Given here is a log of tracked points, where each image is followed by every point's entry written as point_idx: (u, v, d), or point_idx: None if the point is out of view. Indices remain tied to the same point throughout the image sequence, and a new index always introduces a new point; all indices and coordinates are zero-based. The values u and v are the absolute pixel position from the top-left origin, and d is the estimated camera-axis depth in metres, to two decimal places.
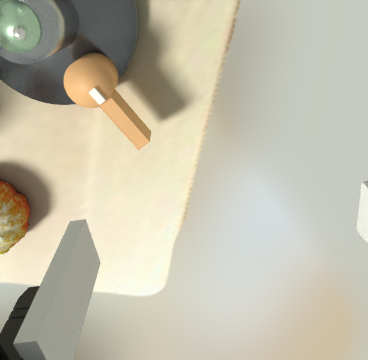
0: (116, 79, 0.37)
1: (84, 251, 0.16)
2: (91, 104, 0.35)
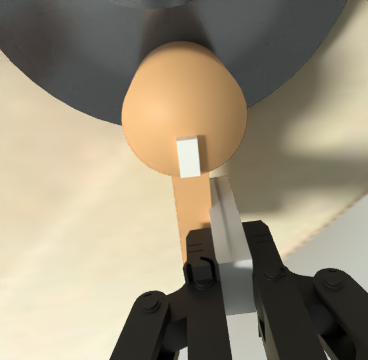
0: None
1: None
2: (160, 164, 0.14)
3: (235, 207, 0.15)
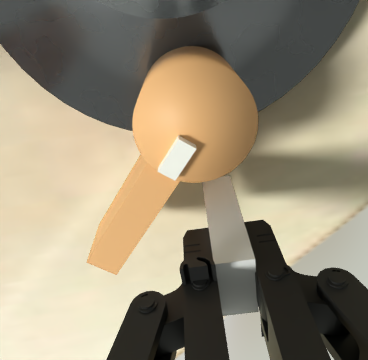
0: None
1: None
2: (147, 148, 0.14)
3: (238, 207, 0.15)
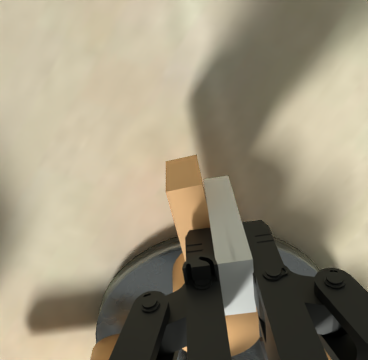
0: None
1: None
2: None
3: (236, 207, 0.15)
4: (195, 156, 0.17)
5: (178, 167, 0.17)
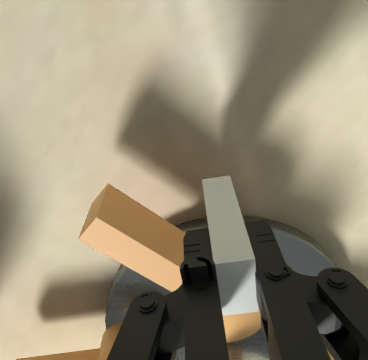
0: None
1: None
2: None
3: (237, 207, 0.15)
4: (106, 185, 0.18)
5: (94, 206, 0.18)
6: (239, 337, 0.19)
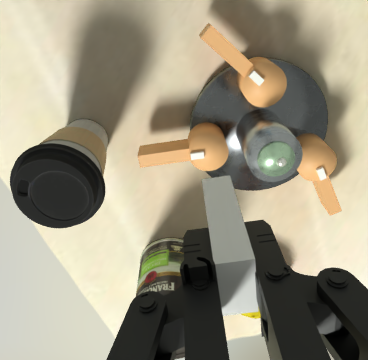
0: None
1: None
2: (312, 178, 0.44)
3: (237, 207, 0.15)
4: (208, 23, 0.38)
5: (203, 31, 0.37)
6: (271, 103, 0.39)
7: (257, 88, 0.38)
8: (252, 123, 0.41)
